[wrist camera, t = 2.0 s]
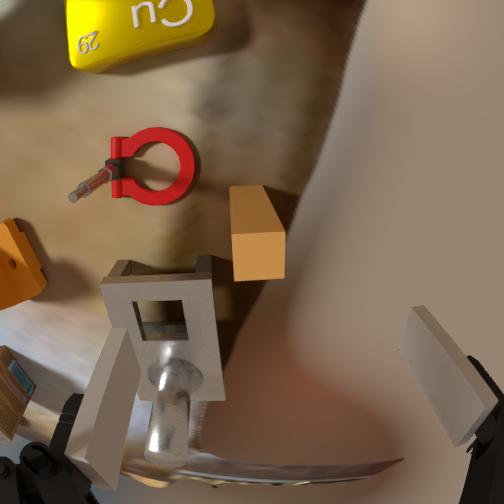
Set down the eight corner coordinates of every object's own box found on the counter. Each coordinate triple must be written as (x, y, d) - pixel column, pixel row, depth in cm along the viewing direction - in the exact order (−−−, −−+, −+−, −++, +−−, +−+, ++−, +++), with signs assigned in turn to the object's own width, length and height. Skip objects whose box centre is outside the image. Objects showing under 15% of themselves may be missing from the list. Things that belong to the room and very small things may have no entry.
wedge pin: (229, 186, 33) (231, 234, 20) (261, 184, 33) (285, 231, 21) (230, 217, 34) (234, 281, 22) (262, 215, 35) (284, 278, 22)
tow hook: (197, 127, 30) (112, 128, 29) (188, 135, 19) (60, 140, 18) (194, 203, 34) (114, 202, 33) (186, 253, 22) (70, 251, 21)
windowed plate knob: (115, 258, 35) (54, 362, 19) (213, 253, 36) (206, 367, 20) (147, 370, 43) (126, 472, 27) (224, 369, 44) (228, 477, 28)
